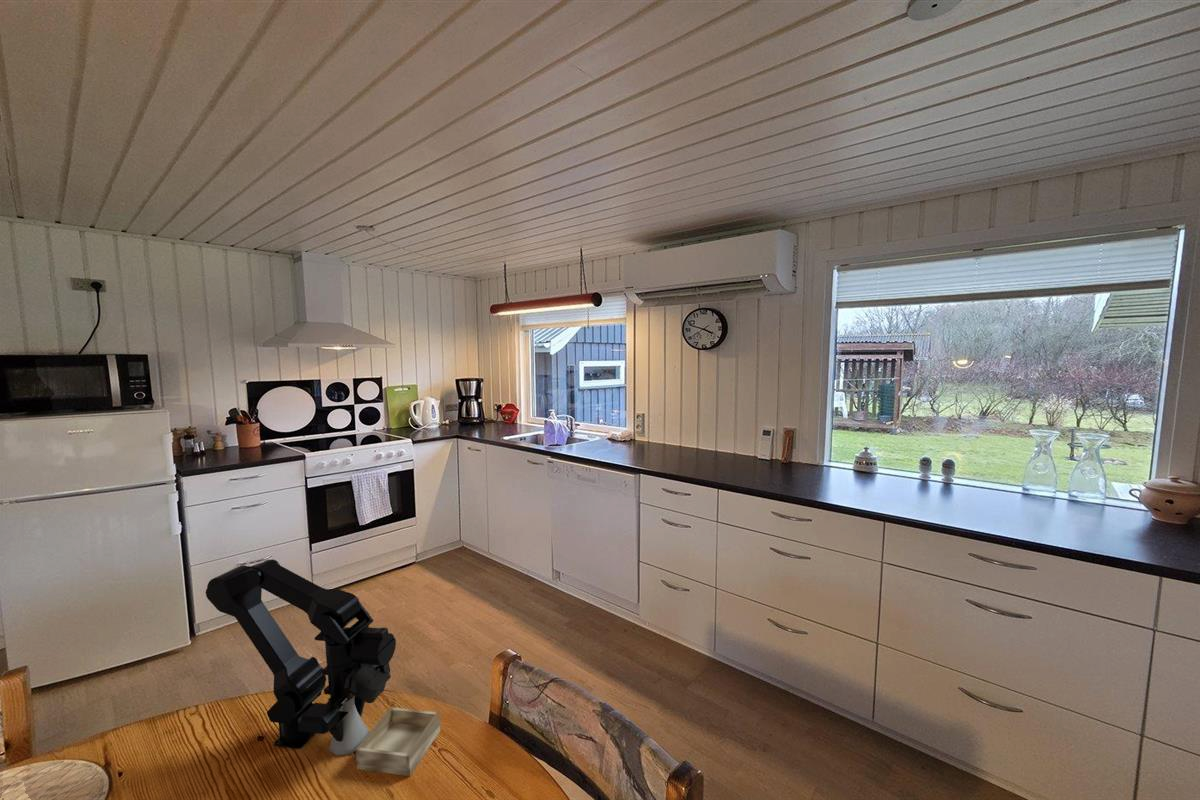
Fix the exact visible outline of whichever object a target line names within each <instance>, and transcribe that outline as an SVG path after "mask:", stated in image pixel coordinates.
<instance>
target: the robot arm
mask: <svg viewBox="0 0 1200 800" xmlns="http://www.w3.org/2000/svg"><path fill="white" fill-rule="evenodd" d="M262 590H265V591H266V592H267V593H270V594H272V595H273V596H275V597H277V598H279V599H280V600H283V601H285V602H286V603H288V604H290V605H292V606H293V607H296V608H297V609H299V610H302V611H303V612H304V613H305V614H307V617H308V620H309V622H310V624H311V625H313V626H314V627H315V628H317V630H319V631H320V632H318V634H317V635H316V636H315V637H314V640H315V641H319V642H324V648H325V658H326V659H325V661H326V666H325V667H322V666H321V665H320V663H319V660H318V659H317V657H315V656H311V657H310V658H309V659H308V658H305V657H302V656H300V655H299V654H298V652H297V651H296V649H295V648H294V646H293V645H292V643H291V642H290V640H289V639H288V637H287V636H286V634H285V633H284V632H283V630H282V628H281V626H279V623H277V621H276V620H275V618H274V617H273V615H272V613H270V612H271V611H269V609H268V608H267V606H266V605H265V604H264V602H263V600H262V595H263V594H262ZM205 596H206V598H207V600H208V601H209V602H210V603H211V604H212V605H213V607H215V609H216V610H217V611H219V612H220V613H222V614H225V615H227V616H231V617H234V618H235V619H236V620H237V623H238V625H240V626H241V628H242V630H243V632H244V633H245V634H246V636H247V637H248V639H249V640H250V642H251V643H252V644H253V647H255V649H256V650H257V652H258V654H259V655H260V656H261V658H262V659H263V661H264V662H265V664H266V665H267V666H268V668H269V671H271V672H272V675H273V690H272V691H273V694H274V696H275V698H276V702H275V703H274V704H273V705H272V706H271V707H270V708H269V709H268V710H267V712H266V715H267V717H268V719H269V721H270V723H278V731H279V737H278V738H276V739H275V741H273V746H274V747H275V746H276V747H279V748H280V747H282V748H290V749H297V750H299V749H302V748H303V747H304V746H305V745H306V744H307V743H308V742H309V741H310V740H311V739H312V737H314V735H316V734H319V735H324V734H327V733H329V734H330V735H332V737H334V738H335V739H336V741H339V742H341V741H342V740H343V718H344V717H345V716H346V715H347V714H348V712H345V711H343V710H342V707H343V703H344V702H345V701H346V700H347V699H349V698H350V697H351V696H352V694H353V695H354V696H355V697H354V703H355V706H356V709H357V712H358V713H359V715H360V717H361V718H362V715H363V712H364V707H365V704H372V703H374V702H375V701H376V700H377V699H378V697H379V696H380V695H381V694H382V693H384V691H385V689H386V685H387V682H388V681H389V680H390V678H391V667H390V662H391V660H392V658H393V656H394V654H395V650H396V645H397V640H396V638H395V636H394V634H393V633H390V632H389V629H388V627H370V625H371V624H373V622H374V619H373V618H372V616H371V615H370V613H369V612H368V611H367V610H366V609H365V607H364V606H363V604H362V603H361V601H360V599H359V597H358V596H356V595H355V594H353V593H351V592H348V591H345V590H342V589H339V588H325V587H321V586H320V585H319V584H318V585H317V584H316V583H314V582H312V581H310V580H309V579H306V578H305V577H303V576H301V575H299V574H297V573H295V572H293V571H291V570H289V569H288V568H286V567H284V566H282V565H281V564H280V563H279V562H278V561H277V560H276V559H267V560H264V561H262V562H259V563H257V564H254V565H251V566H250V565H245V564H244V565H243V564H242V565H239V566H236V567H234V568H232V569H231V570H228V571H226V572H224V573H221V574H219V575H217V576H216V577H213V578H212V579H210V580H209V581H208V583H207V586H206V589H205ZM355 619H356V620H357V621H355V623H354V624H352V625H351V626H348V625H350V623H351V622H353V621H354V620H355ZM347 626H348V627H347ZM327 680H328V681H327ZM326 681H327V682H328V685H327V686H326ZM322 692H323V694H324V695H328V696H330V697H329V698H327V702H326V703H323V702H315V703H314V701H316V699H318V698H320V696H321V695H322Z"/></svg>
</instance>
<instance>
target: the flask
mask: <svg viewBox="0 0 1200 800" xmlns="http://www.w3.org/2000/svg"><path fill="white" fill-rule="evenodd" d="M354 697H355V696H354V695H353V694H352V696H351V697H350V698H349V699H347V700H346V701H345V702H344V703H343V707H342V710H343V711H345V712H348V714H347V715H346V716H345V717H344V718H343V740H342V741H341V742H339V741H336V739H335V738H334V737H333V736H332V737H331V740H330V743H329V747H328V751H329V752H330V753H333V754H334V755H335V756H343V755H344V756H345V755H353V754H354V753H356V749H357V747H358V746H359V745H360V744H361V743H362V741H363V740H364V739H365V738H366V737H367V735H368V734H369V733H370V732H371V731H370V729H369V728H368V726H367V725H366V724H365V722H364V721H363V718H362V716H361V717H360V715H359V713H358V712H357V709H356V706H355V703H354Z"/></svg>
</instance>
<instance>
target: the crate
mask: <svg viewBox="0 0 1200 800" xmlns="http://www.w3.org/2000/svg"><path fill="white" fill-rule="evenodd" d="M440 721H441V719H440V712H437V711H429V710H428V711H427V710H419V709H410V708H402V707H401V708H400V707H393V706H391V707H389V709H388V710H387V712H385V713H384V715H383V716H382V717H381V718H380V720H379V721H378V722H377V723H376V724H375V726H374V727H373V728H372V729H371V731H370V733H369V734H368V735H367V737H366V738H365V739H364V740H363V741H362V743H361V744H360V745H359V746H358V747H357V749H356V751H355V759H356V769H357V770H362V771H369V772H370V771H371V772H377V773H384V774H389V775H390V774H392V775H398V776H404V777H405V776H406V777H411V776H412V774H413V773H414V771H415V770H416V769H417V767H418V765H419V764H420V762H421V760H422V759H423V758H424V756H425V754H426V753H427V752H428V750H429V749H430V747H431V745H432V744H433V743H434V741H435V740H436V738H437V736H438V735H439V734H440V732H441V723H440Z"/></svg>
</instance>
